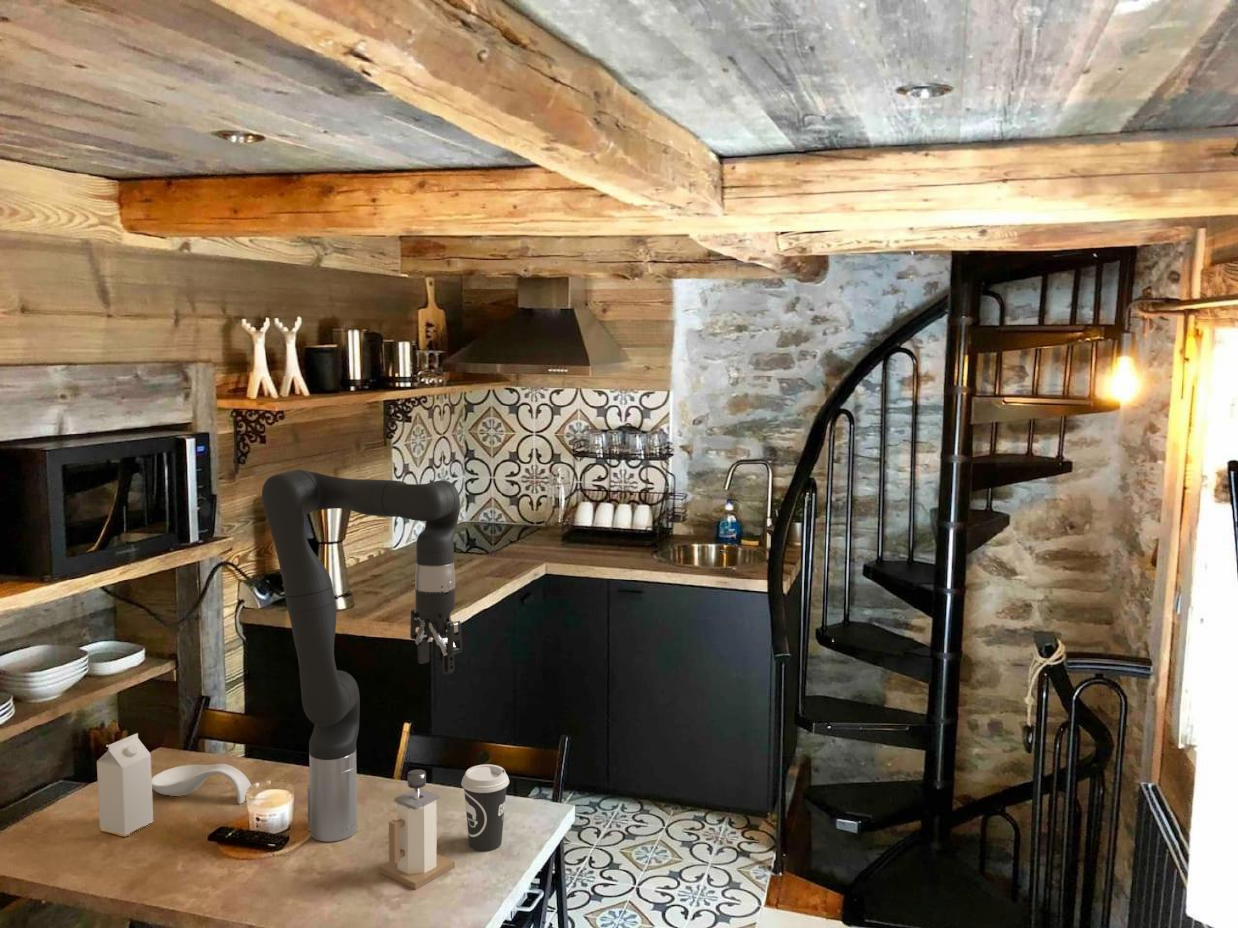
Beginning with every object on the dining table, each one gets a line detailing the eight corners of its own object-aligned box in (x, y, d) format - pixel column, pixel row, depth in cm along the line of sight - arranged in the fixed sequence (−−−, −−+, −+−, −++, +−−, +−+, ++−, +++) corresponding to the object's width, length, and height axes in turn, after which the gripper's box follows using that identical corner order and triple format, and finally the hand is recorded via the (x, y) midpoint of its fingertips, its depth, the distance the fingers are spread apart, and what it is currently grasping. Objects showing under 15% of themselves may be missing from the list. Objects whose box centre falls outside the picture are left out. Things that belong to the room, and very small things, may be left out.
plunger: (399, 841, 188) (398, 773, 187) (418, 832, 192) (417, 765, 191) (416, 849, 186) (415, 780, 184) (435, 839, 189) (434, 772, 188)
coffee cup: (500, 857, 195) (500, 784, 193) (454, 852, 196) (454, 779, 195) (515, 834, 204) (515, 765, 202) (471, 829, 206) (470, 760, 204)
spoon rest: (138, 799, 218) (136, 767, 217) (174, 777, 229) (173, 747, 229) (231, 812, 212) (231, 780, 212) (264, 789, 224) (263, 759, 223)
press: (374, 874, 187) (373, 801, 186) (419, 851, 196) (418, 781, 195) (410, 892, 182) (410, 816, 180) (454, 867, 191) (454, 794, 189)
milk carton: (99, 831, 203) (95, 742, 201) (128, 816, 209) (124, 730, 207) (125, 838, 200) (121, 748, 198) (153, 823, 207) (150, 735, 204)
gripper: (398, 582, 192) (399, 663, 193) (439, 595, 181) (440, 681, 183) (431, 576, 197) (431, 655, 198) (473, 589, 186) (473, 672, 188)
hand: (435, 667), depth 191 cm, fingers open, 8 cm apart
